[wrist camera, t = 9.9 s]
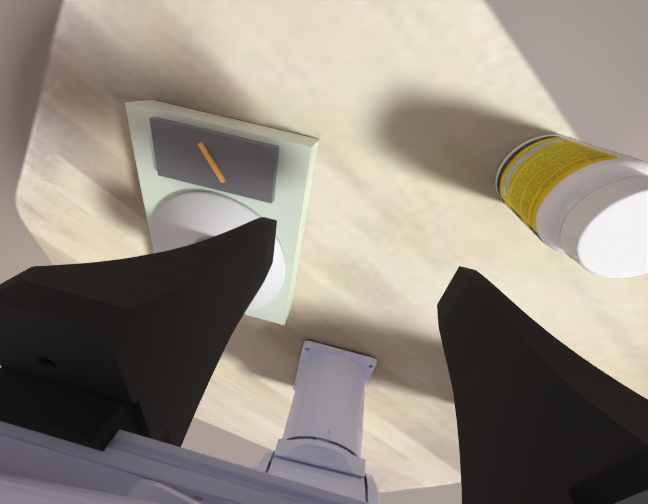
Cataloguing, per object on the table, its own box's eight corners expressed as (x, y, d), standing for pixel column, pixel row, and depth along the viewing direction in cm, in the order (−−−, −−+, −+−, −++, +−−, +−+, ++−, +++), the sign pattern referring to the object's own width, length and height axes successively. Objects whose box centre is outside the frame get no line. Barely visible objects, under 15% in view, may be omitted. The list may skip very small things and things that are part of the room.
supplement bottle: (481, 201, 19) (539, 273, 12) (514, 127, 16) (614, 164, 9) (553, 213, 19) (658, 295, 12) (600, 140, 16) (770, 188, 9)
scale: (291, 306, 27) (281, 331, 25) (177, 276, 28) (155, 297, 25) (319, 139, 19) (308, 149, 16) (152, 99, 19) (113, 103, 16)
